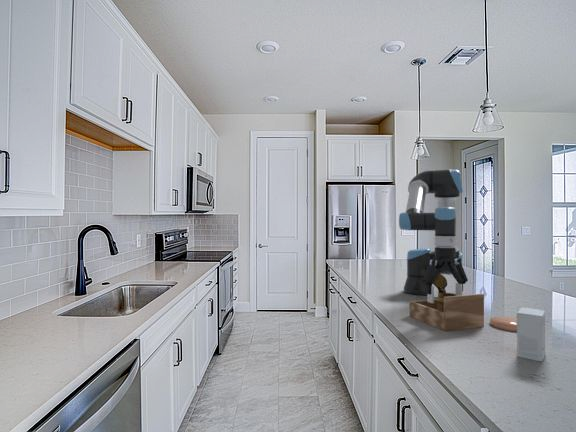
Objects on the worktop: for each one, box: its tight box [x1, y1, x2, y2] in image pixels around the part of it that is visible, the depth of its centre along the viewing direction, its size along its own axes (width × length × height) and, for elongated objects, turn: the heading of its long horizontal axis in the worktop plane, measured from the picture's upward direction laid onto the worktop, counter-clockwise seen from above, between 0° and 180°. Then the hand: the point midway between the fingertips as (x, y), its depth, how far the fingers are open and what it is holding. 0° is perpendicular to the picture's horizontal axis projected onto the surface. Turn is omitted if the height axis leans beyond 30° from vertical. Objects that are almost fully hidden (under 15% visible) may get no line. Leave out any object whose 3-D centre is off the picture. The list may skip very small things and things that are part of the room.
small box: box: [516, 306, 546, 362], centre depth 107 cm, size 8×6×13 cm
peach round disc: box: [489, 316, 517, 333], centre depth 136 cm, size 14×14×2 cm
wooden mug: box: [433, 274, 456, 312], centre depth 142 cm, size 9×14×18 cm, turn 3°
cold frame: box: [409, 293, 485, 332], centre depth 142 cm, size 20×17×12 cm
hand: (444, 301), depth 142 cm, fingers open, 13 cm apart
